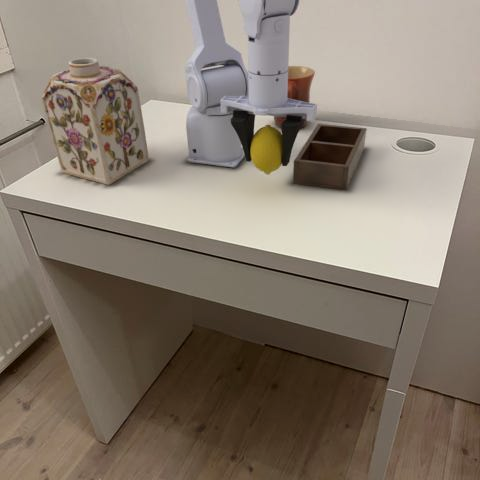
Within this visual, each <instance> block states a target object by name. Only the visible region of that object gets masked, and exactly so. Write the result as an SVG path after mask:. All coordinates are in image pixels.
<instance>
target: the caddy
mask: <svg viewBox="0 0 480 480" xmlns="http://www.w3.org/2000/svg"><path fill="white" fill-rule="evenodd" d="M367 130H368V129H367V128H366V127H357V126H349V125H347V126H346V125H337V124H335V125H334V124H327V123H325V124H324V123H318V124H317V125H316V126H315V128H314V129H313V131H312V132H311V133H310V136H309V137H308V139H307V140H306V142H305V143H304V144H303V146H302V147H301V149H300V151H299V152H298V154H297V156H296V157H295V158H294V160H293V171H292V184H295V185H302V186H309V187H319V188H327V189H333V190H341V191H347V189H348V187H349V185H350V183H351V181H352V178H353V176H354V173H355V171H356V169H357V166H358V164H359V162H360V159H361V157H362V155H363V152H364V150H365V144H366V137H367Z"/></svg>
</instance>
